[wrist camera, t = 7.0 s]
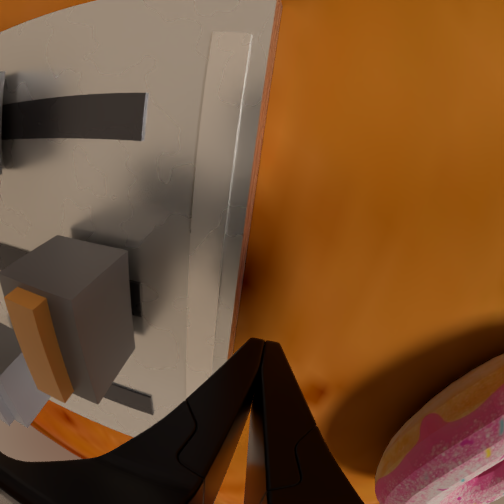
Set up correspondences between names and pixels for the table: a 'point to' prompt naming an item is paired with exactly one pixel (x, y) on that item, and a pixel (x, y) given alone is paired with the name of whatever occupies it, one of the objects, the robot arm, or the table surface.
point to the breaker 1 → (0, 88)
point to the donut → (450, 445)
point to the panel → (142, 171)
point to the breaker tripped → (71, 315)
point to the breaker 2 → (17, 383)
